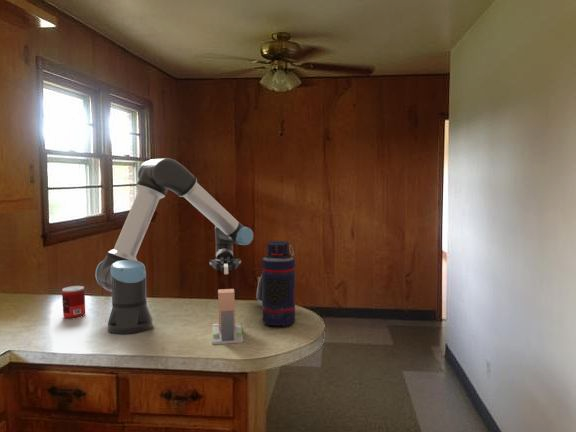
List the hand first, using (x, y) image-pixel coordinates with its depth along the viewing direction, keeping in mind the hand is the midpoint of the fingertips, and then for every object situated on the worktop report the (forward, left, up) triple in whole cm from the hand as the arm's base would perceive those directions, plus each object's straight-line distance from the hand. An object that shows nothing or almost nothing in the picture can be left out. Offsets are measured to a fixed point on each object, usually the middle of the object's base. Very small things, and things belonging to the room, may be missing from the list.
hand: (226, 270), depth 173 cm
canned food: (-58, +15, -19) cm, 63 cm away
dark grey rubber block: (0, -23, -19) cm, 30 cm away
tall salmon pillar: (0, -12, -18) cm, 21 cm away
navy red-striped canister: (+19, -7, -19) cm, 28 cm away
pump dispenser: (+18, +15, -19) cm, 30 cm away
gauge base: (0, -17, -19) cm, 25 cm away
